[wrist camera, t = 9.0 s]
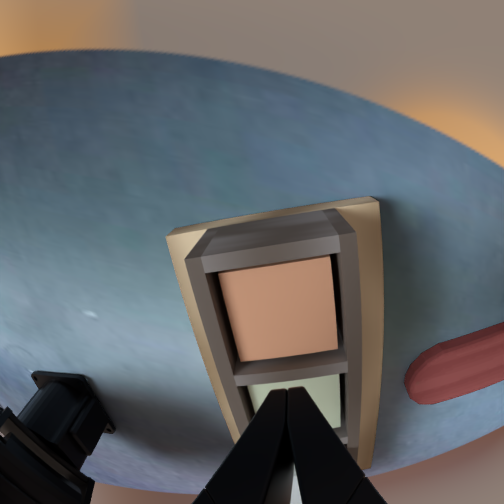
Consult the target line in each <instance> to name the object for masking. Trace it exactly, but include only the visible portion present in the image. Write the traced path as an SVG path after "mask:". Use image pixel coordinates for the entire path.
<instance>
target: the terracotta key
mask: <svg viewBox="0 0 504 504" xmlns="http://www.w3.org/2000/svg"><path fill="white" fill-rule="evenodd" d="M218 276H219V280H220V284H221V288H222V292H223V296H224V300H225V304H226V308H227V312H228V316H229V320H230V324H231V328H232V331H233V335H234V339H235V343H236V346H237V350H238V354H239V358H240V361H241V362H243V361H253V360H262V359H271V358H279V357H287V356H294V355H302V354H309V353H315V352H322V351H328V350H334V349H338V342H337V327H336V314H335V302H334V290H333V280H332V270H331V260H330V255H329V254H327V255H320V256H314V257H308V258H301V259H295V260H289V261H282V262H276V263H269V264H263V265H256V266H250V267H243V268H236V269H230V270H223V271H219V272H218Z"/></svg>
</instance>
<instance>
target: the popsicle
mask: <svg viewBox="0 0 504 504" xmlns="http://www.w3.org/2000/svg"><path fill="white" fill-rule="evenodd" d="M502 380H504V322H502V323H499V324H496V325H493V326H490V327H488V328H485V329H482V330H479V331H476V332H473V333H470V334H467V335H464V336H461V337H458V338H455V339H451V340H448V341H445V342H442V343H438V344H436V345H435V346H433V347H431V348H430V349H428V350H426V351H424V352H423V353H421V354H420V355H419V356H418V357H417V359H416V360H415V361H414V362H413V363H412V364H411V365H410V367H409V369H408V371H407V373H406V374H405V380H404V384H405V387H406V390H407V392H408V394H409V397H410V398H411V399H412V400H414V401H415V402H417V403H418V404H435V403H439V402H442V401H446V400H449V399H452V398H456V397H459V396H462V395H465V394H468V393H471V392H474V391H477V390H480V389H482V388H485V387H487V386H490V385H493V384H495V383H497V382H500V381H502Z"/></svg>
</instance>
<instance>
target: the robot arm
mask: <svg viewBox="0 0 504 504" xmlns="http://www.w3.org/2000/svg"><path fill="white" fill-rule="evenodd" d="M31 377H32V379H33V380H34V382H35V384H36V385H37V387H38V391H37V392H36V393H35V394H34V396H33V397H32V398H31V399H30V401H29V402H28V403H27V405H26V406H25V407H24V408H23V410H22V411H21V412H20V413H19V415H18V416H17V417H16V416H15V415H14V414H13V413H12V412H13V411H12V410H11V409H10V408H9V407H8V406H7V407H6V408H5V409H3V408H1V407H0V432H1V433H3V435H4V437H2V436H1V435H0V504H90V502H91V497H92V492H93V488H94V484H95V481H94V480H93V479H91V478H90V477H87V476H86V475H84V474H83V473H81V472H80V469H81V467H82V465H83V463H84V461H85V459H86V457H87V456H90V455H91V454H92V452H93V450H94V449H95V447H96V445H97V443H98V441H99V439H100V437H101V435H102V433H109V434H113V433H114V432H115V430H116V428H115V427H114V425H113V424H112V422H111V421H110V419H109V417H108V416H107V414H106V413H105V411H104V410H103V408H102V406H101V405H100V403H99V401H98V400H97V398H96V396H95V395H94V393H93V391H92V390H91V388H90V386H89V384H88V383H87V381H86V379H85V378H84V377H83V376H81V375H71V374H58V373H47V372H37V371H34V372H33V373H32V374H31ZM294 465H295V471H296V476H297V481H298V486H299V491H300V496H301V501H302V504H387V503H386V501H385V500H384V499H383V497H382V496H381V495H380V494H379V492H378V491H377V490H376V489H375V487H374V486H373V485H372V483H371V482H370V480H369V479H368V478H367V477H365V474H364V472H363V471H362V470H361V468H360V467H359V465H358V464H357V463H356V461H355V460H354V458H353V457H352V455H351V454H350V453H349V451H348V450H347V448H346V447H345V445H344V444H343V443H342V441H341V440H340V438H339V437H338V435H337V434H336V433H335V431H334V430H333V428H332V427H331V425H330V424H329V422H328V421H327V420H326V418H325V417H324V415H323V414H322V412H321V411H320V409H319V408H318V406H317V405H316V403H315V402H314V400H313V399H312V397H311V396H310V395H309V393H308V392H307V390H306V389H305V387H303V386H298V387H290V388H288V390H287V389H286V388H281V389H272V390H270V392H269V393H268V395H267V396H266V398H265V399H264V401H263V403H262V404H261V406H260V407H259V409H258V410H257V412H256V414H255V415H254V417H253V418H252V420H251V421H250V423H249V424H248V426H247V427H246V429H245V430H244V432H243V433H242V435H241V436H240V438H239V439H238V441H237V442H236V444H235V445H234V447H233V448H232V450H231V451H230V452H229V454H228V455H227V457H226V458H225V460H224V461H223V462H222V464H221V465H220V467H219V468H218V469H217V471H216V472H215V474H214V475H213V476H212V478H211V479H210V480H209V482H208V483H207V485H206V486H205V488H206V489H203V490H202V491H201V492H200V494H199V495H198V496H197V498H196V499H195V500H194V502H193V503H192V504H290V502H291V493H292V484H293V474H294Z"/></svg>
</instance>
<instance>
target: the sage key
mask: <svg viewBox="0 0 504 504" xmlns="http://www.w3.org/2000/svg"><path fill="white" fill-rule="evenodd" d="M247 386H248V390H249V394H250V397H251V401H252V404H253V408H254V411H255V414H256V412H257V410H258V409H259V407H260V406H261V404H262V403H263V401H264V399H265V398H266V396H267V395H268V393H269V392H270V390H272V389H281V388H286V389H287V390H288V388H290V387H298V386H303V387H305V389H306V390H307V392H308V393H309V395H310V396H311V397H312V399H313V400H314V402H315V403H316V405H317V406H318V408H319V409H320V411H321V412H322V414H323V415H324V417H325V418H326V420H327V421H328V422H329V424H330V425H331V427H332V428H337V427H341V425H340V383H339V374H335V375H328V376H322V377H316V378H309V379H301V380H294V381H286V382H277V383H268V384H258V385H247Z"/></svg>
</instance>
